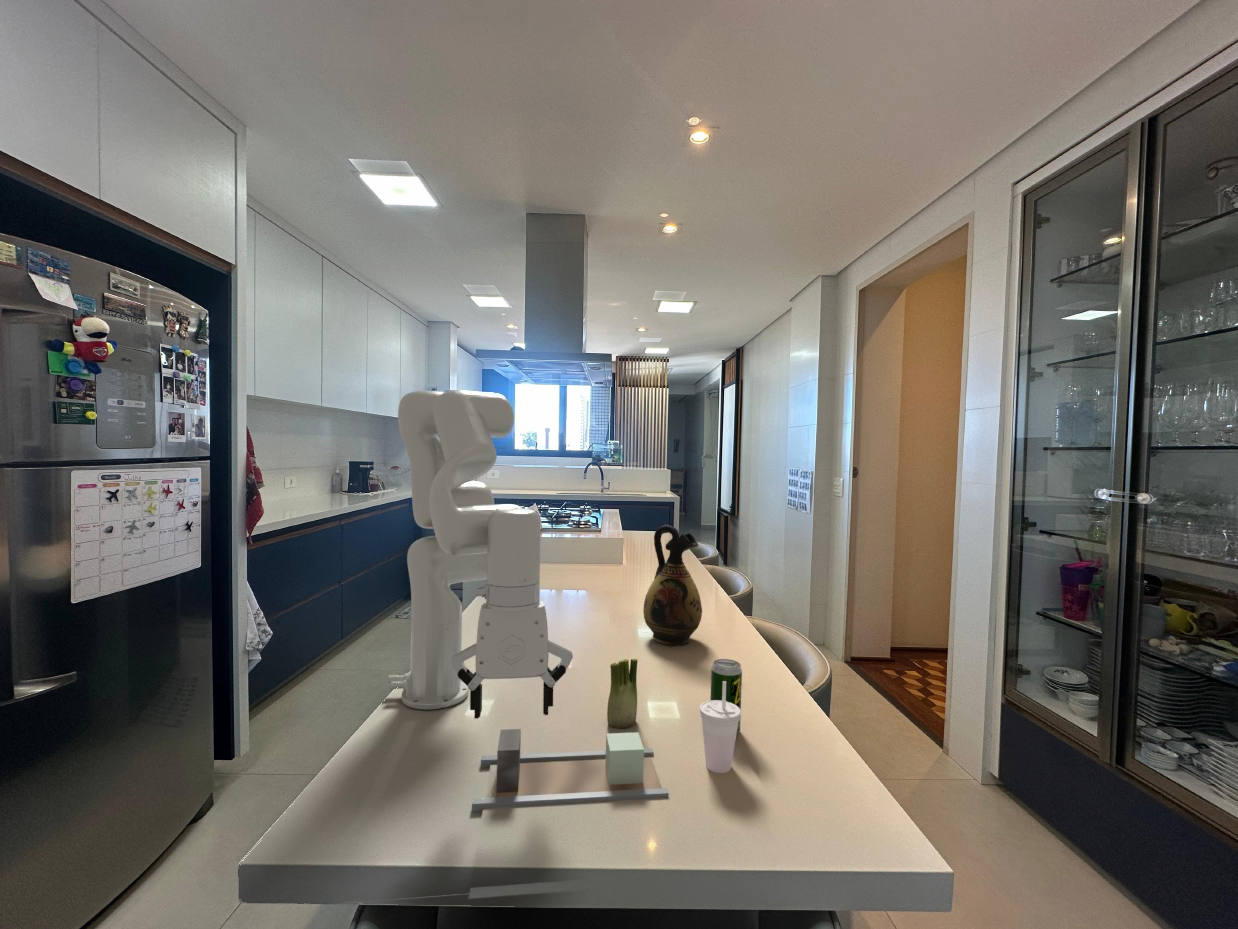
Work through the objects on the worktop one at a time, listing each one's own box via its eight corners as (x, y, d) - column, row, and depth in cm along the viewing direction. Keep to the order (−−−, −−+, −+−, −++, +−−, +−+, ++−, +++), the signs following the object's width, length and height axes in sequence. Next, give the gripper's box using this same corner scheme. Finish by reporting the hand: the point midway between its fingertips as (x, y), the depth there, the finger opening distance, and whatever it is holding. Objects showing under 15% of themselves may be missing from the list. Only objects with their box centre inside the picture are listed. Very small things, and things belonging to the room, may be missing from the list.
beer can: (707, 735, 98) (709, 667, 98) (711, 721, 103) (713, 656, 103) (738, 740, 97) (740, 671, 96) (741, 726, 102) (743, 660, 102)
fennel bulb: (635, 719, 103) (637, 654, 103) (640, 732, 99) (642, 664, 98) (604, 721, 102) (605, 655, 102) (608, 734, 98) (609, 666, 97)
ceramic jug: (710, 637, 151) (714, 526, 150) (685, 654, 138) (689, 532, 137) (654, 625, 160) (658, 520, 159) (626, 640, 147) (629, 525, 146)
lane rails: (471, 812, 76) (472, 804, 76) (481, 763, 88) (481, 756, 88) (668, 801, 79) (668, 793, 79) (652, 755, 91) (652, 748, 91)
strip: (491, 804, 77) (492, 756, 77) (497, 767, 86) (498, 725, 86) (662, 794, 81) (663, 749, 81) (650, 760, 90) (651, 719, 89)
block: (609, 785, 82) (610, 750, 82) (605, 765, 87) (606, 733, 86) (643, 783, 82) (644, 749, 82) (637, 764, 87) (638, 732, 87)
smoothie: (730, 787, 83) (733, 693, 83) (690, 773, 86) (693, 683, 86) (745, 767, 88) (748, 679, 88) (707, 754, 92) (709, 669, 92)
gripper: (447, 602, 77) (446, 728, 77) (574, 599, 79) (573, 721, 79) (455, 590, 84) (454, 704, 84) (572, 587, 86) (570, 699, 86)
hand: (512, 712), depth 81 cm, fingers open, 9 cm apart
